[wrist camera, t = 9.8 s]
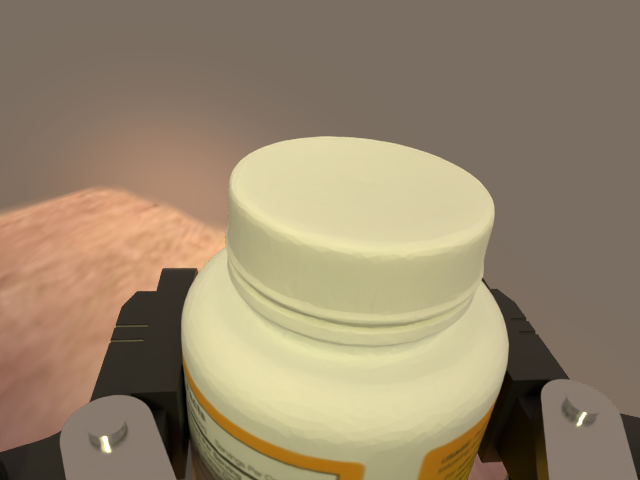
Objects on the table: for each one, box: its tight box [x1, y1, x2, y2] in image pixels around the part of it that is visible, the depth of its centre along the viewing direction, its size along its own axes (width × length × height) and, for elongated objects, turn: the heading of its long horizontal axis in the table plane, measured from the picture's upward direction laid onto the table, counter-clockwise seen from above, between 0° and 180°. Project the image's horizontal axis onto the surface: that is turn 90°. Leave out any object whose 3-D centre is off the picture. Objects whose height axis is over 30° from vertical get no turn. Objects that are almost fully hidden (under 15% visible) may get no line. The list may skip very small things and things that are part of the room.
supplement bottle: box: [181, 136, 509, 480], centre depth 10 cm, size 6×6×10 cm
